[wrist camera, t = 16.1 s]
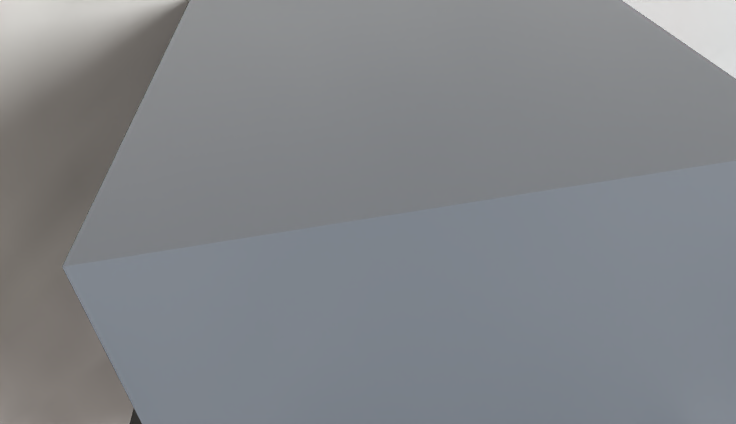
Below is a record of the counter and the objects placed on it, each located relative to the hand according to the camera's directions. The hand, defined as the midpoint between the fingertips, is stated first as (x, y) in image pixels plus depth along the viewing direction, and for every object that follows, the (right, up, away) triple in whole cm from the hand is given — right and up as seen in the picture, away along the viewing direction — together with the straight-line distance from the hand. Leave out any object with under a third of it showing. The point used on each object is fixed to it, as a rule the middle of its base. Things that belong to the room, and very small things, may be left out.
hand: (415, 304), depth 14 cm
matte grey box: (0, +2, +3) cm, 4 cm away
